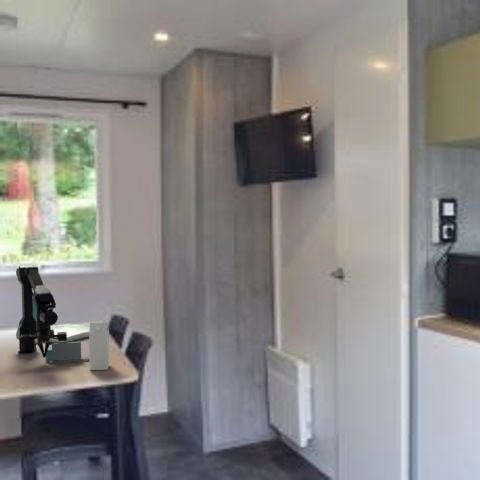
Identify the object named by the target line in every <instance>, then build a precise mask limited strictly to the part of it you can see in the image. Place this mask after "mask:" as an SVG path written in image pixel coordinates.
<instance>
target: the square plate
mask: <svg viewBox="0 0 480 480" xmlns="http://www.w3.org/2000/svg"><path fill="white" fill-rule="evenodd" d="M52 329H54V335H57V332H66V333H67V340H66V341H59V340H57V339H53V343H68V342H74V341H76V340H80V339H85V338H89V330H90V326H84V325H83V326H82V325H75V324H74V325H73V324H68V323H67V324H65V323H64V324H59V325H54V326H53V325H52V326H51V330H52Z"/></svg>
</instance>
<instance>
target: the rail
mask: <svg viewBox="0 0 480 480" xmlns="http://www.w3.org/2000/svg"><path fill="white" fill-rule="evenodd" d="M48 362H49V365H57V364H58V365H59V364H70V363H71V364H72V363H80V362H81V363H83V362H84V363H85V362H90V361H89V356H81V358H76V359H63V360H52V359H50V360H49V361H48Z"/></svg>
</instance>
